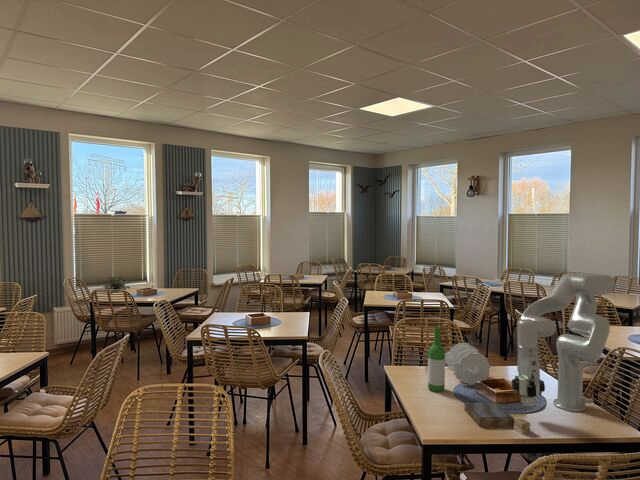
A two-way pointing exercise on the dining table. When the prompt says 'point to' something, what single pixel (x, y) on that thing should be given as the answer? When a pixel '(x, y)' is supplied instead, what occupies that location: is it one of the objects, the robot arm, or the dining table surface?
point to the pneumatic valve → (526, 389)
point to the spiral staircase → (467, 363)
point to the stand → (489, 415)
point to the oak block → (522, 426)
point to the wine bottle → (436, 364)
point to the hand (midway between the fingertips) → (527, 392)
